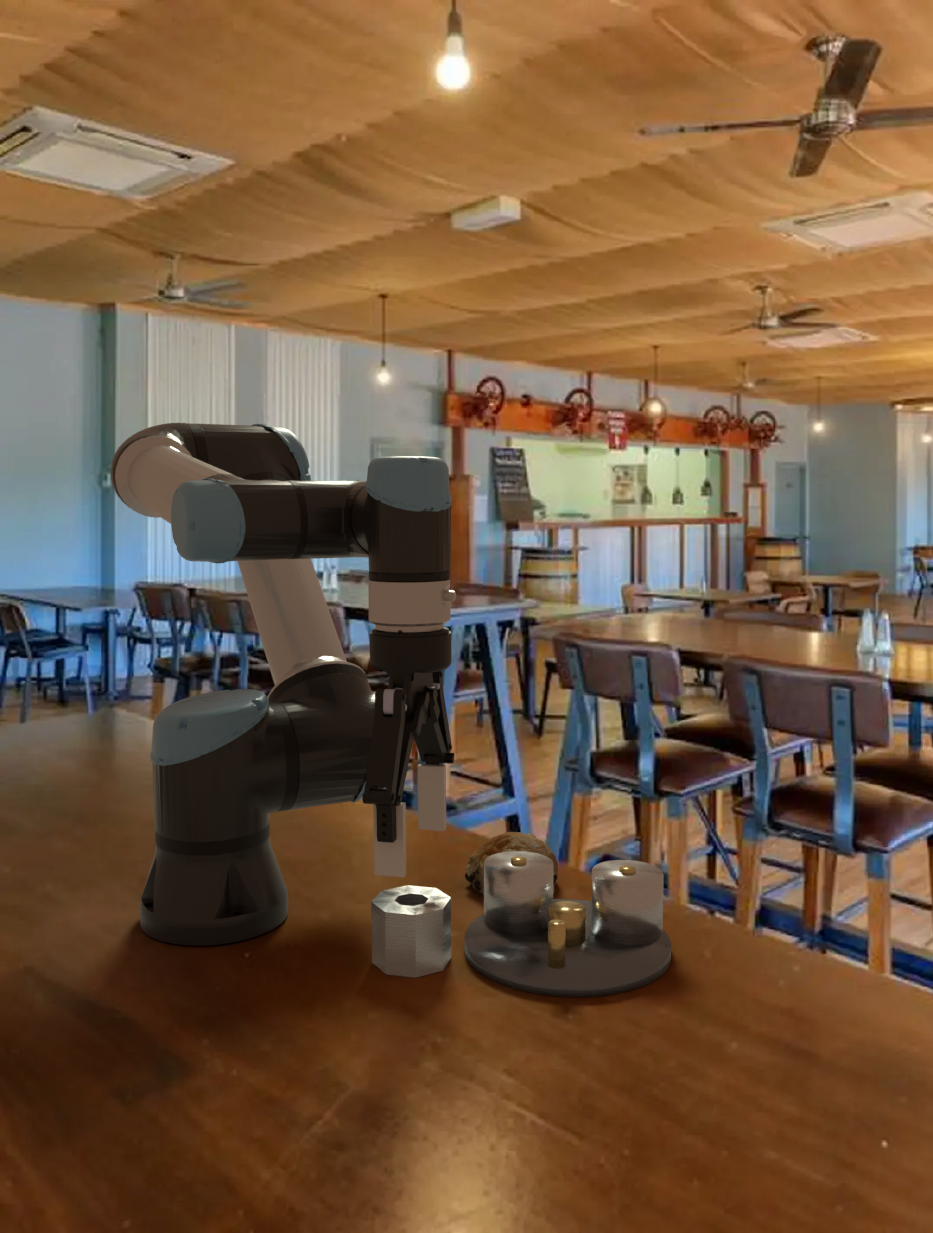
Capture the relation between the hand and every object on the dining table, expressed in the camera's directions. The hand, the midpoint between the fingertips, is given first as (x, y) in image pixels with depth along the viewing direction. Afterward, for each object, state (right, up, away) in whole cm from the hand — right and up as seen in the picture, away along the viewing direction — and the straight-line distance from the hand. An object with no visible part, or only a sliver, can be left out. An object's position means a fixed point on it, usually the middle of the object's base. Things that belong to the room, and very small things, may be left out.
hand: (412, 850), depth 102 cm
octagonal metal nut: (0, -11, +2) cm, 11 cm away
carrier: (+15, -10, +4) cm, 19 cm away
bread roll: (+10, -9, +21) cm, 25 cm away
